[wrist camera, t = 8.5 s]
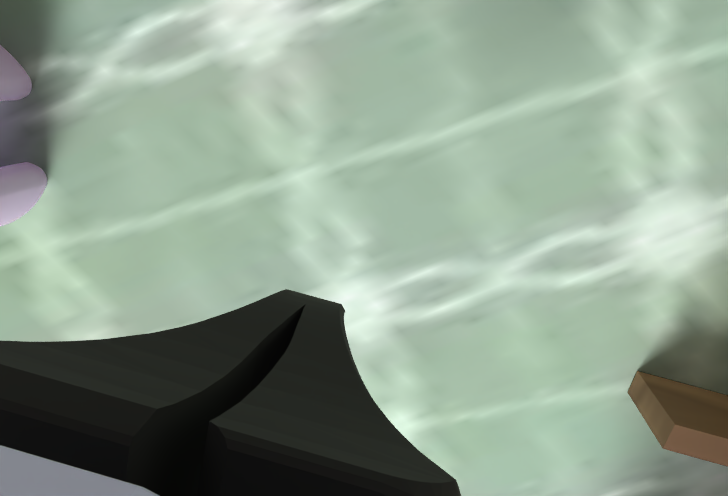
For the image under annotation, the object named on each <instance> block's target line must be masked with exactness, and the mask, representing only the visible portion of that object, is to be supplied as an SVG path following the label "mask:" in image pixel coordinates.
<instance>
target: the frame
mask: <svg viewBox="0 0 728 496" xmlns="http://www.w3.org/2000/svg"><path fill="white" fill-rule="evenodd" d="M628 394H629V395H630V397H631V398H632V400H633V402H634V403H635V405H636V406H637V408H638V410H639V411H640V413H641V414H642V416H643V418H644V419H645V421H646V422H647V424H648V426H649V427H650V429H651V430H652V432H653V434H654V435H655V437H656V438H657V440H658V442H659V443H660V445H661V446H662V448H663V449H666V450H670V451H674V452H677V453H681V454H684V455H688V456H692V457H695V458H699V459H702V460H706V461H710V462H713V463H717V464H721V465H724V466H728V395H724V394H720V393H717V392H713V391H709V390H705V389H702V388H698V387H694V386H691V385H687V384H683V383H680V382H676V381H672V380H669V379H665V378H661V377H658V376H654V375H650V374H646V373H643V372H639V371H637V373H636V375H635V377H634V379H633V381H632V384H631V386H630V388H629V390H628Z"/></svg>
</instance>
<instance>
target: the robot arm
mask: <svg viewBox="0 0 728 496" xmlns="http://www.w3.org/2000/svg"><path fill="white" fill-rule="evenodd" d="M344 313H345V310H344V308H343V306H342V304H339V303H335V302H331V301H328V300H324V299H320V298H317V297H313V296H309V295H306V294H302V293H298V292H295V291H291V290H287V289H286V290H283V291H280V292H277V293H275V294H273V295H270V296H268V297H266V298H263V299H261V300H259V301H256V302H254V303H251V304H249V305H246V306H244V307H241V308H239V309H237V310H234V311H231V312H228V313H225V314H222V315H219V316H216V317H213V318H210V319H207V320H204V321H201V322H198V323H194V324H191V325H187V326H183V327H179V328H174V329H169V330H165V331H160V332H155V333H149V334H142V335H134V336H126V337H118V338H111V339H101V340H86V341H63V342H20V341H0V496H461V494H460V491H459V487H458V484H457V482H456V480H455V479H454V478H453V477H452V476H450V475H449V474H448V473H446V472H445V471H444V470H443V469H441V468H440V467H439V466H437V465H436V464H435V463H434V462H432V461H431V460H430V459H428V458H427V457H426V456H425V455H423V454H422V453H421V452H420V451H419V450H417V449H416V448H415V447H414V446H413V445H412V444H411V443H410V442H409V441H408V440H407V439H406V438H405V437H404V436H403V435H402V434H401V433H400V432H399V431H398V430H397V429H396V428H395V427H394V426H393V424H392V423H391V422H390V421H389V420H388V419H387V417H386V416H385V415H384V414H383V412H382V411H381V410H380V408H379V407H378V406H377V405H376V403H375V402H374V400H373V399H372V397H371V396H370V394H369V392H368V390H367V389H366V387H365V385H364V383H363V381H362V379H361V377H360V375H359V372H358V370H357V367H356V365H355V362H354V360H353V357H352V354H351V351H350V348H349V344H348V340H347V337H346V332H345V326H344Z"/></svg>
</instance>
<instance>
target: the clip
mask: <svg viewBox="0 0 728 496" xmlns="http://www.w3.org/2000/svg"><path fill="white" fill-rule="evenodd" d="M31 89H32V82H31V79H30V77H29V75H28V74H27V73H26V71H25V70H24V69H23V67H22V66H21V65H20V64H19V63H18V61H17V60H16V59H15V58H14V57H13V56H12V55H11V54H10V53H9V52H8V51H7V50H6V49H4V48H3V47H2V46H1V45H0V101H12V100H20V99H22V98H24V97H26V96H28V95H29V94H30V92H31ZM46 186H47V176H46V174H45V172H44V171H43V170H42V169H41V168H40V167H38V166H36V165H34V164H32V163H29V162H23V163H18V164H13V165H8V166H3V167H0V226H3V225H6V224H9V223H11V222H13V221H15V220H17V219H19V218H20V217H22V216H23V215H25V214H26V213H27V212H28V211H29V210H31V208H32V207H33V206H34V205H35V204H36V203H37V201H38V200H39V199H40V197H41V195H42V194H43V192H44V190H45V188H46Z"/></svg>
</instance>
